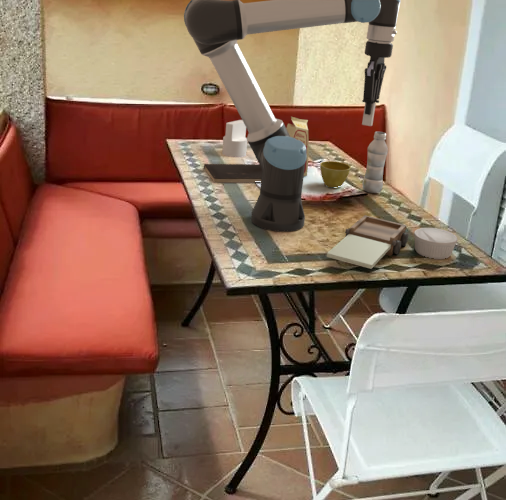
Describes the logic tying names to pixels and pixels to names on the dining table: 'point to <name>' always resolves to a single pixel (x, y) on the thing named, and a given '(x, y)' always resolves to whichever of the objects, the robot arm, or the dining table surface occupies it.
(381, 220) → the flatbed cart
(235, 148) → the cylinder with rectangular tab
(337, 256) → the panel
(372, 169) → the plastic bottle
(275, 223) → the robot arm
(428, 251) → the ramekin
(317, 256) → the dining table surface
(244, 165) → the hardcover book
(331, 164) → the flower pot
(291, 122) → the milk carton
